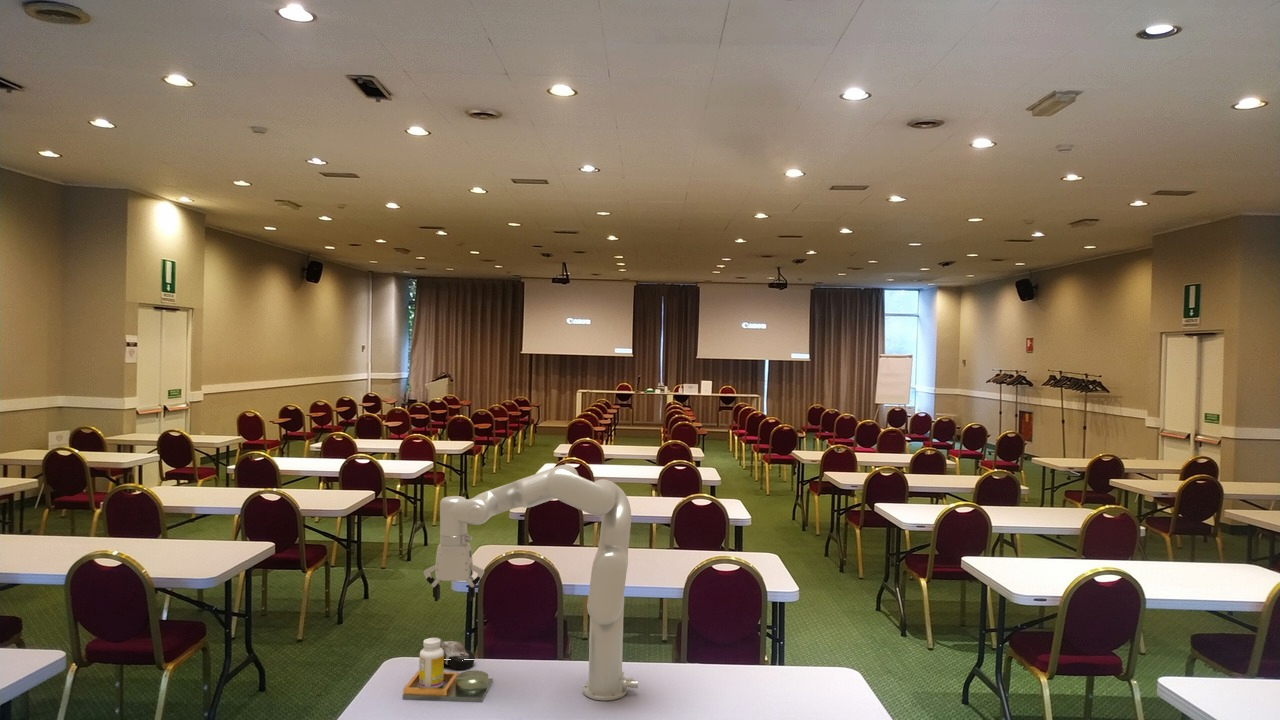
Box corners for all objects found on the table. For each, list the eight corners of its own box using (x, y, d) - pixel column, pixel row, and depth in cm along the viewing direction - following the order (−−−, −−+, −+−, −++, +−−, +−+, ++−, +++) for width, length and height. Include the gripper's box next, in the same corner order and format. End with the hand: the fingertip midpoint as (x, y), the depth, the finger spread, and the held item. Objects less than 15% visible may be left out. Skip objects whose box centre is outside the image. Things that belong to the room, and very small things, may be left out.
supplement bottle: (446, 681, 221) (447, 637, 221) (438, 691, 214) (439, 645, 214) (424, 680, 222) (425, 635, 222) (415, 690, 215) (416, 643, 215)
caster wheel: (475, 675, 235) (444, 677, 230) (462, 655, 244) (432, 657, 239) (480, 655, 235) (449, 656, 229) (467, 636, 244) (437, 637, 238)
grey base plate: (492, 682, 224) (493, 668, 224) (482, 702, 211) (482, 686, 211) (418, 680, 225) (418, 665, 225) (402, 699, 212) (403, 684, 212)
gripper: (486, 537, 224) (486, 596, 224) (427, 537, 225) (427, 596, 225) (480, 543, 217) (481, 604, 217) (419, 543, 217) (420, 604, 217)
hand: (454, 599), depth 221 cm, fingers open, 9 cm apart
